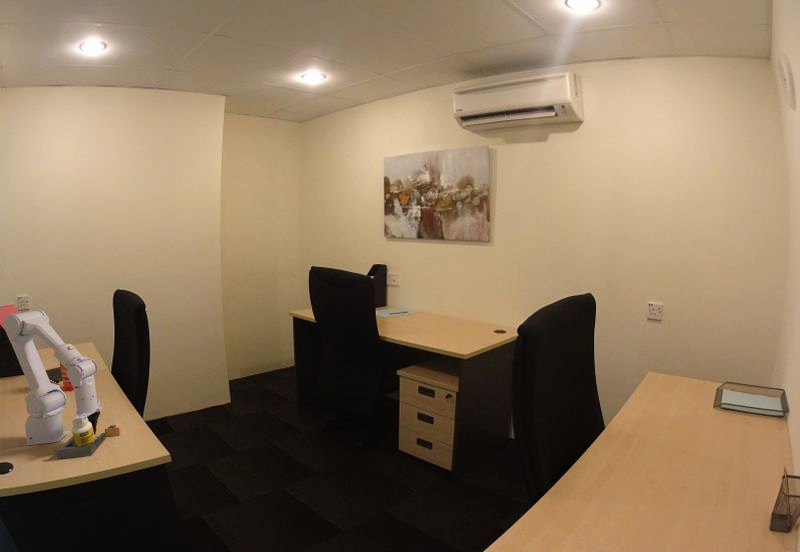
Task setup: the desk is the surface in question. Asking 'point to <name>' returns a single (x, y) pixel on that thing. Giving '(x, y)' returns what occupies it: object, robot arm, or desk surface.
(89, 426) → the supplement bottle
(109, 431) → the block
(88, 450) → the rail clip
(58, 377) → the hardcover book
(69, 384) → the coffee cup
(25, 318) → the robot arm
